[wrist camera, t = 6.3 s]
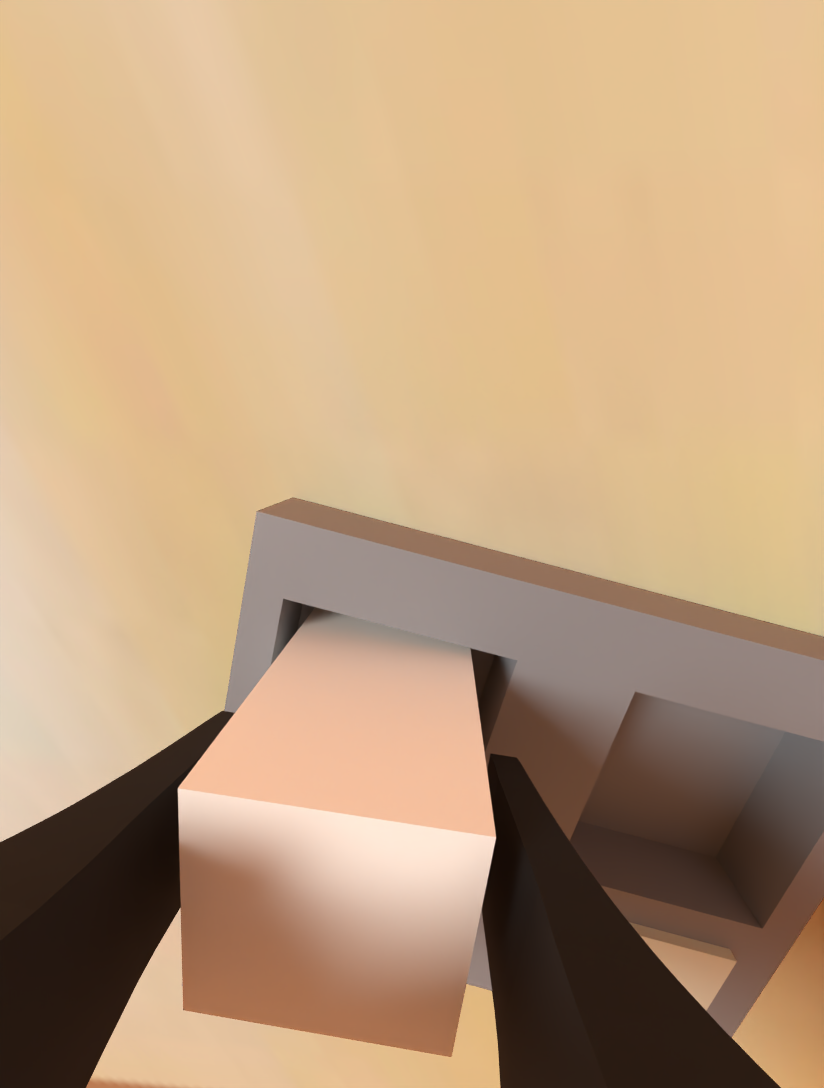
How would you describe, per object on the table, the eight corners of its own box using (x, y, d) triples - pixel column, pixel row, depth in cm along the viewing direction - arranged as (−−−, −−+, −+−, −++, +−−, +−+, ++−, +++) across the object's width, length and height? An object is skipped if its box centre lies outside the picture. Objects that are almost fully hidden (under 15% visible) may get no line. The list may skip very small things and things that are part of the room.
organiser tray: (856, 646, 12) (972, 703, 10) (677, 957, 16) (727, 1066, 13) (292, 497, 12) (251, 513, 10) (230, 837, 16) (186, 920, 13)
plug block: (466, 623, 13) (496, 837, 6) (446, 751, 14) (451, 1057, 7) (317, 603, 13) (178, 787, 6) (309, 731, 14) (183, 1009, 7)
